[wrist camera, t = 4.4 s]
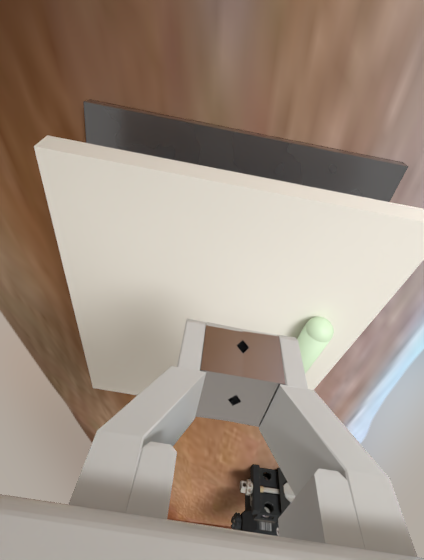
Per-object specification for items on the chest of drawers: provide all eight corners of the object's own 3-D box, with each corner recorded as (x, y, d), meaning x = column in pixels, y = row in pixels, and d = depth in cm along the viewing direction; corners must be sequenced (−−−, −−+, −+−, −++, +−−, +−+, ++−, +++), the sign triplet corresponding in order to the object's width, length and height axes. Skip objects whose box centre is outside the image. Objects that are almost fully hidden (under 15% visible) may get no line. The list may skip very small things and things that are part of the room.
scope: (316, 612, 33) (289, 625, 39) (297, 470, 44) (279, 497, 50) (239, 602, 33) (224, 616, 39) (240, 462, 44) (228, 490, 50)
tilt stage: (47, 135, 14) (12, 163, 12) (439, 211, 15) (468, 250, 13) (97, 375, 29) (86, 405, 28) (287, 407, 30) (289, 438, 28)
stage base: (89, 99, 19) (55, 112, 15) (402, 162, 19) (436, 187, 16) (104, 353, 32) (88, 389, 29) (286, 384, 33) (291, 423, 30)
